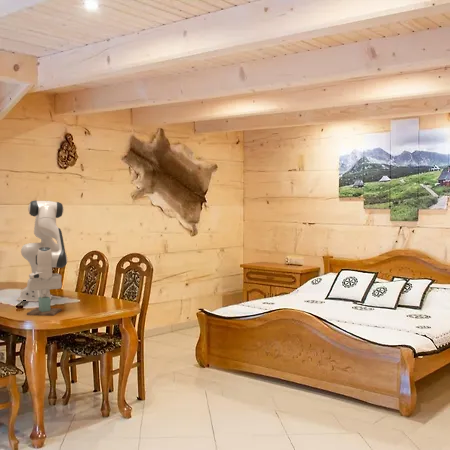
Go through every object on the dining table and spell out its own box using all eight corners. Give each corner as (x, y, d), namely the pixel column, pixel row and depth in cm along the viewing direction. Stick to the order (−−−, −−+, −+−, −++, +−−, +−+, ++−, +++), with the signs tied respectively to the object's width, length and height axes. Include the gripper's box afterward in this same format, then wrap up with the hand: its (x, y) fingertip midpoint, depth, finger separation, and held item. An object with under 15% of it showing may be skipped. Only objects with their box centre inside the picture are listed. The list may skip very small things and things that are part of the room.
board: (26, 315, 358) (26, 304, 358) (35, 309, 374) (35, 300, 374) (53, 315, 358) (53, 305, 358) (61, 310, 374) (61, 300, 374)
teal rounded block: (41, 311, 362) (41, 298, 362) (38, 310, 367) (38, 296, 366) (50, 310, 365) (50, 297, 364) (47, 309, 370) (46, 295, 369)
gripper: (59, 272, 373) (59, 294, 374) (26, 274, 362) (26, 297, 362) (63, 273, 368) (63, 296, 369) (29, 275, 357) (29, 299, 357)
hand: (44, 297), depth 366 cm, fingers closed
